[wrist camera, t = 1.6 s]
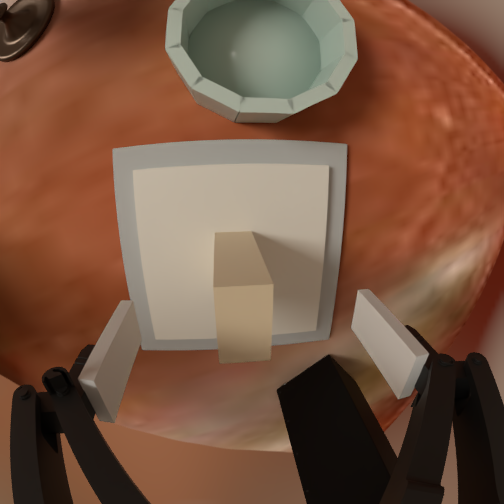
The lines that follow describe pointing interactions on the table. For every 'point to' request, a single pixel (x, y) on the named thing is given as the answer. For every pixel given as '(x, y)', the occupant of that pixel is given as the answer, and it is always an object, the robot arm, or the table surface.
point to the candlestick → (22, 26)
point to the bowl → (260, 54)
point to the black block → (335, 437)
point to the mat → (228, 154)
